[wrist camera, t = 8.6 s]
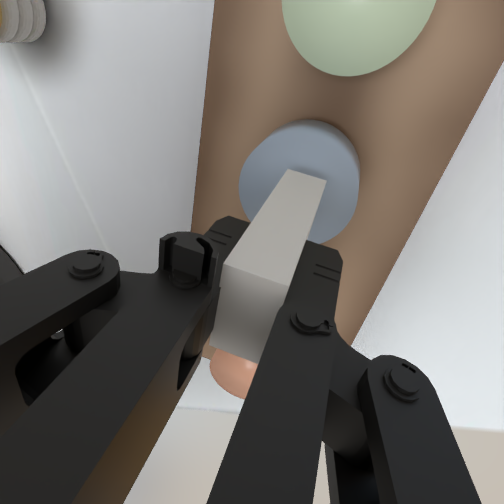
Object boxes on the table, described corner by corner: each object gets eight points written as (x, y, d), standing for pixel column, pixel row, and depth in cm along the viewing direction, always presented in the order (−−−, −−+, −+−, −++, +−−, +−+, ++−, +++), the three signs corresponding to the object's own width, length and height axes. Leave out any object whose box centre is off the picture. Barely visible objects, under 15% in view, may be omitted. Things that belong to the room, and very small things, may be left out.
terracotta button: (218, 357, 27) (205, 384, 25) (228, 312, 24) (214, 338, 22) (279, 380, 26) (271, 410, 24) (296, 336, 24) (289, 366, 22)
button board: (194, 322, 31) (178, 347, 28) (254, -125, 15) (230, -156, 13) (325, 371, 29) (320, 401, 27) (548, -72, 13) (587, -96, 11)
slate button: (246, 204, 18) (230, 226, 16) (267, 106, 16) (250, 118, 13) (339, 233, 18) (334, 260, 16) (377, 136, 15) (378, 153, 13)
